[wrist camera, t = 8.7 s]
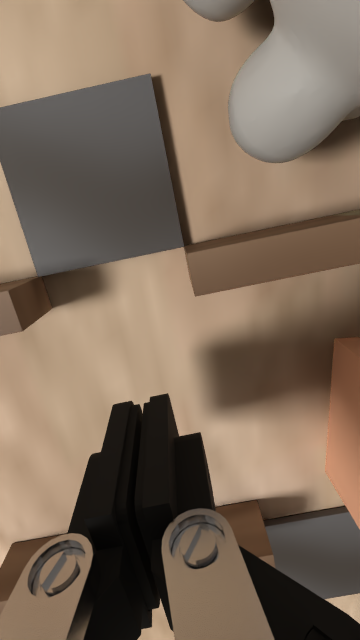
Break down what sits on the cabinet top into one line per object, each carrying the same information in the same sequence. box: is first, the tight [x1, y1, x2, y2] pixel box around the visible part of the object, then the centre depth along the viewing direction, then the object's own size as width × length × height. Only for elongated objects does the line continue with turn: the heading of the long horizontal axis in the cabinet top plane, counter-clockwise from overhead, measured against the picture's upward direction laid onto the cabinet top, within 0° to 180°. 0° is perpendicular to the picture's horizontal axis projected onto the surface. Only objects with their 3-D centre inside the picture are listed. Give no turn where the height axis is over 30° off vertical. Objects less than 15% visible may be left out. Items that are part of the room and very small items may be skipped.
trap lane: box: [0, 74, 360, 615], centre depth 12 cm, size 22×22×2 cm
